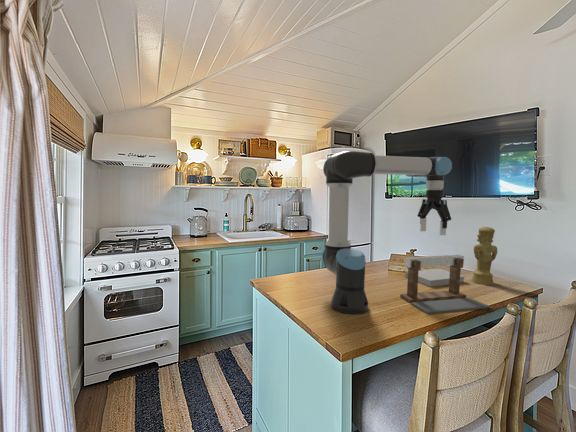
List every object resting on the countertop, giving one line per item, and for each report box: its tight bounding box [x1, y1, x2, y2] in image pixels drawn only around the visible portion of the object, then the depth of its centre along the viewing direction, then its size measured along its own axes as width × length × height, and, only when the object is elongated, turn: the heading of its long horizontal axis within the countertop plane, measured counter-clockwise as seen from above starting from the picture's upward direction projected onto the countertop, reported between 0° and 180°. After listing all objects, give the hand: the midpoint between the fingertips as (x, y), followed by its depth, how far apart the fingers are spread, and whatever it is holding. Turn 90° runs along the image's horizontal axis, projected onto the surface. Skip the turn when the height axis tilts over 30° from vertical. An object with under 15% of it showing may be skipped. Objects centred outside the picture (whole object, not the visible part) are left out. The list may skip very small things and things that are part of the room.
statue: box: [470, 226, 498, 286], centre depth 155 cm, size 11×10×30 cm
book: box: [404, 268, 466, 288], centre depth 160 cm, size 18×4×24 cm
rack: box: [399, 258, 467, 304], centre depth 131 cm, size 29×7×18 cm, turn 103°
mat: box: [410, 297, 491, 315], centre depth 122 cm, size 30×10×1 cm, turn 103°
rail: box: [404, 254, 465, 268], centre depth 131 cm, size 28×3×4 cm, turn 103°
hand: (432, 233), depth 142 cm, fingers open, 13 cm apart
